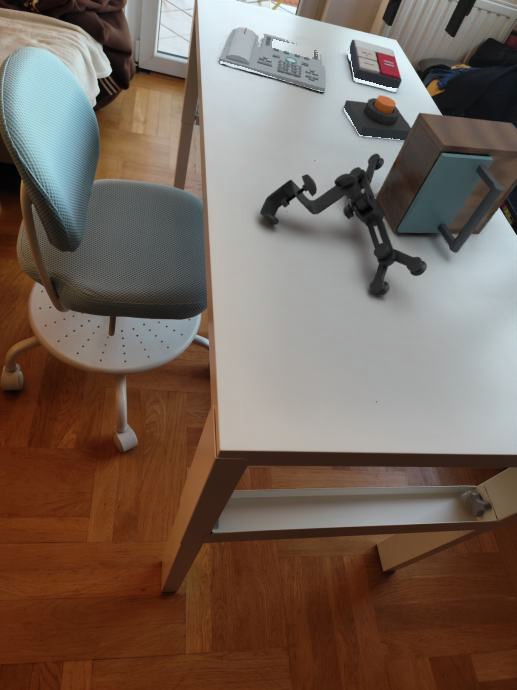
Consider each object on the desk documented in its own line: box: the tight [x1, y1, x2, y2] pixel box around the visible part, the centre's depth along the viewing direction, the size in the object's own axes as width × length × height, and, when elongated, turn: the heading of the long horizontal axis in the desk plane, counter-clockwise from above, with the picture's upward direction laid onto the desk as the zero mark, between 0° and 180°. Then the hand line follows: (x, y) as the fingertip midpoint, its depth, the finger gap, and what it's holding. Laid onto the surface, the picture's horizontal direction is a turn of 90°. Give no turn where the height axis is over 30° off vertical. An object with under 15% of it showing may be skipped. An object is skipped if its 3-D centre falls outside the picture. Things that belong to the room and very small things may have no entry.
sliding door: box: [397, 153, 504, 254], centre depth 74 cm, size 9×7×14 cm
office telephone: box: [218, 27, 327, 93], centre depth 109 cm, size 23×3×20 cm
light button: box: [374, 95, 397, 114], centre depth 99 cm, size 4×4×2 cm
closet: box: [375, 112, 517, 235], centre depth 80 cm, size 18×8×16 cm, turn 104°
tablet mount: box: [259, 153, 428, 297], centre depth 73 cm, size 27×14×17 cm
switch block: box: [343, 97, 412, 141], centre depth 101 cm, size 12×10×4 cm
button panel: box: [349, 39, 402, 89], centre depth 117 cm, size 11×4×15 cm
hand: (418, 28), depth 87 cm, fingers open, 13 cm apart
